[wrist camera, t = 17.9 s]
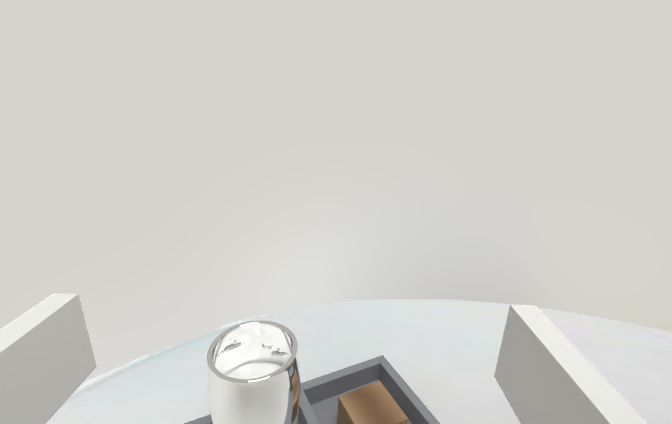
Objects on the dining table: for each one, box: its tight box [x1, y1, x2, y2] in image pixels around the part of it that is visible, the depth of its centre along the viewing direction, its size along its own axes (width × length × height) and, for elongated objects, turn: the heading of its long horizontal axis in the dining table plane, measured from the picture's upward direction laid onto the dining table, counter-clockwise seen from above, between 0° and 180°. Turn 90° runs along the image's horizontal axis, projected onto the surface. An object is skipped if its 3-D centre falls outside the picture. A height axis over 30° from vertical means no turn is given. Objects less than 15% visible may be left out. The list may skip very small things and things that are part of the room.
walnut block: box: [337, 381, 408, 424], centre depth 34 cm, size 5×5×4 cm
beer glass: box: [207, 321, 300, 424], centre depth 27 cm, size 7×7×15 cm
